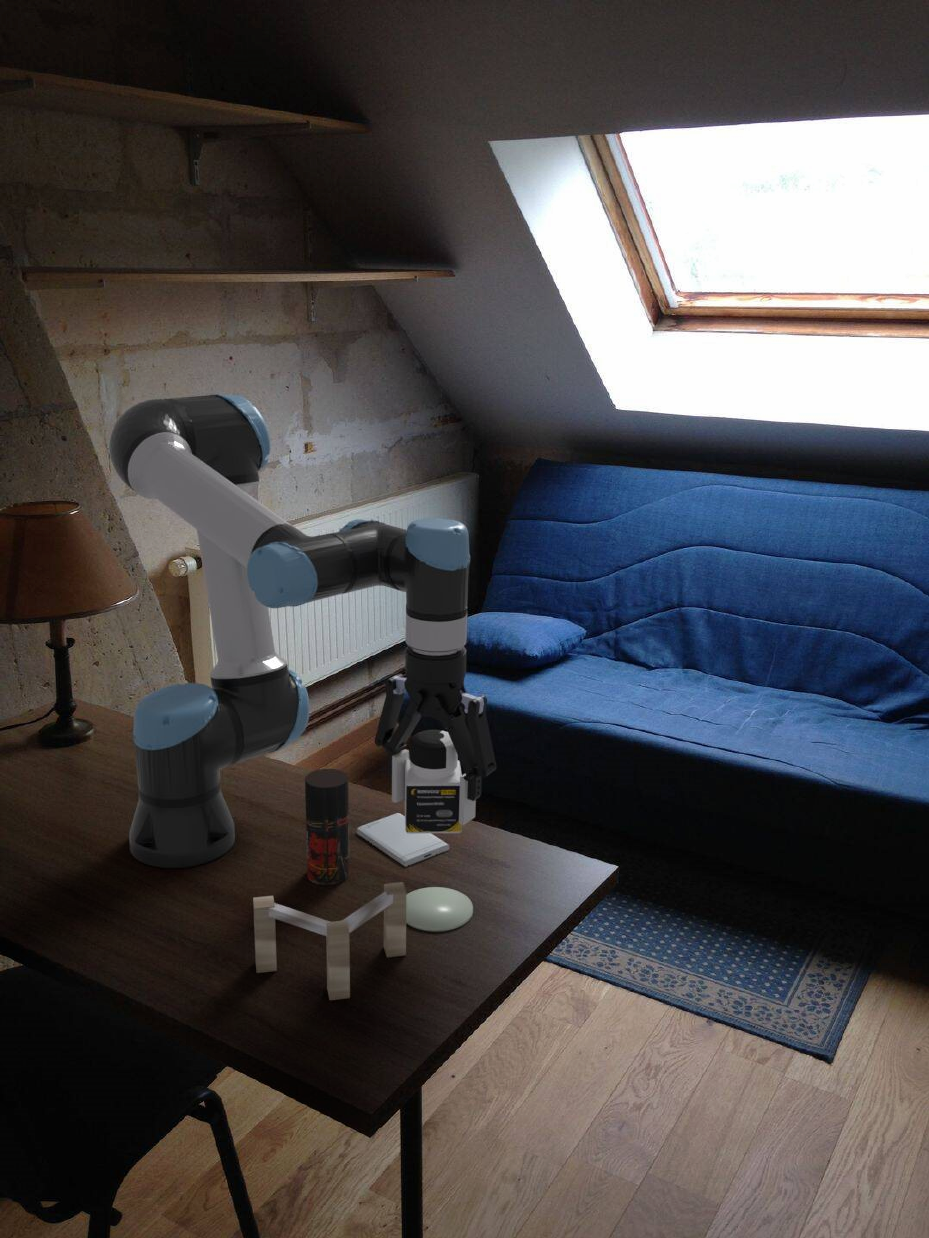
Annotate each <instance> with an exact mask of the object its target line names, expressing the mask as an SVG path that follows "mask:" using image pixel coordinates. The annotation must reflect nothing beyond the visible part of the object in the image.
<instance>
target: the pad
mask: <svg viewBox="0 0 929 1238" xmlns="http://www.w3.org/2000/svg"><path fill="white" fill-rule="evenodd" d="M473 914H474V906H473V902H472V900H471V899H470V898H469V897H468V896H467V895H466V894H464V893H463V892H460V891H459V890H455V889H454V888H453V889H452V888H449V887H442V886H441V887H440V886H429V887H423V888H418V889H415V890H413V891H411V892H409V893H408V892H407V893H406V925H408V926H410V927H412V928H413V929H417V930H421V931H425V932H435V933H437V932H439V933H440V932H447V931H452V930H454V929H459V928H460V927H462V926H464V925H465V924H467V923H468V922H469V921H470V920H471V918H472V917H473Z"/></svg>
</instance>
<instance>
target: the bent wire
mask: <svg viewBox="0 0 929 1238" xmlns="http://www.w3.org/2000/svg"><path fill="white" fill-rule="evenodd" d="M406 895H407V890H406V887H405V884H404V882H403V881H399V882H392V883H391V882H390V883H384V884H383V892H382V893H381V894H379V895H377V896H376V897H374V898H373V899H372V900H370V901H368V902H367V903H366V904H364V905H363V906H361V907H360V908H358V909H357V910H355V911H354V912H352V913H351V914H349V915H348V916H346V917H345V918H344V919H342V920H336V921H329V920H327V919H323V918H321V917H317V916H315V915H313V914H309V913H306V912H303V911H299V910H297V909H293V908H291V907H288V906H285V905H282V904H280V903H279V904H278V903H276V902H275V899H274V895H266V896H257V897H252V899H253V900H252V904H253V925H254V927H253V928H254V949H255V951H254V953H255V956H254V957H255V968H256V974H260V973H269V972H270V973H271V972H277V971H278V969H277V967H278V966H277V939H276V938H277V937H276V936H277V935H276V920H278V921H280V922H283V923H285V924H286V923H287V924H290V925H291V926H296V927H298V928H301V929H305V930H307V931H310V932H312V933H315V934H318V935H322V936H324V937H326V939H325V940H326V941H325V942H326V945H325V947H326V986H327V987H326V989H327V994H328V999H329V1001H336V1000H345V999H351V987H350V986H351V982H350V981H351V979H350V978H351V975H350V974H351V972H350V971H351V967H350V966H351V964H350V963H351V960H350V959H351V958H350V954H351V953H350V947H351V946H350V945H351V944H350V933H352V932H354V931H355V930H356V929H357V928H360V927H361V926H363V924H365V923H367V922H368V921H369V920H370V919H372V918H373V917H375V916H376V915H378V914H379V913H381V912H382V911H383V949H384V952H385V956H386V958H393V957H394V958H395V957H402V956H406V955H407V923H406Z"/></svg>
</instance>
